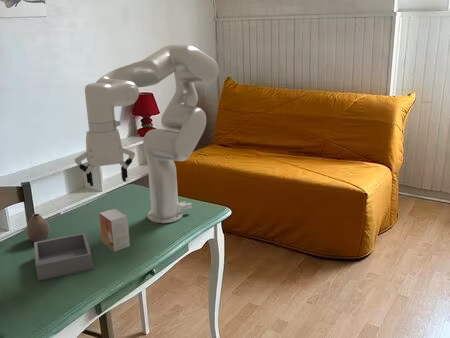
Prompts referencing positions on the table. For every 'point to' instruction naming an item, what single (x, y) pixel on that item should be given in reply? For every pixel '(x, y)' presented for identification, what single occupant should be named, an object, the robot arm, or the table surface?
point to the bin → (62, 256)
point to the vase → (37, 228)
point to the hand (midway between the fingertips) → (107, 182)
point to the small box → (114, 229)
